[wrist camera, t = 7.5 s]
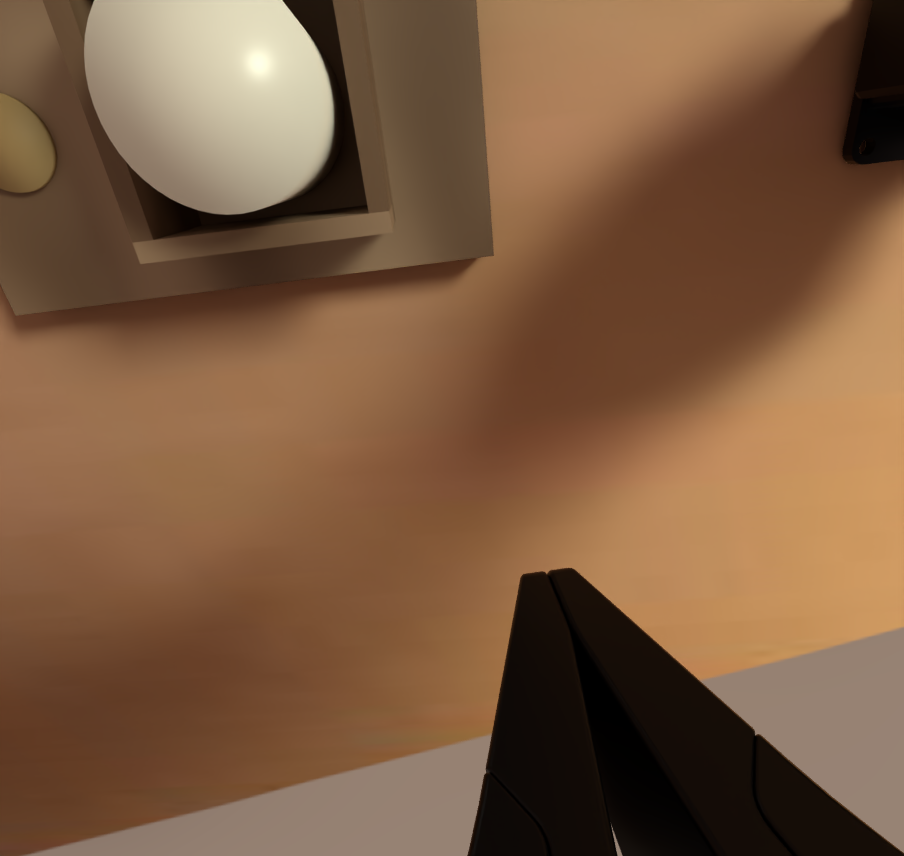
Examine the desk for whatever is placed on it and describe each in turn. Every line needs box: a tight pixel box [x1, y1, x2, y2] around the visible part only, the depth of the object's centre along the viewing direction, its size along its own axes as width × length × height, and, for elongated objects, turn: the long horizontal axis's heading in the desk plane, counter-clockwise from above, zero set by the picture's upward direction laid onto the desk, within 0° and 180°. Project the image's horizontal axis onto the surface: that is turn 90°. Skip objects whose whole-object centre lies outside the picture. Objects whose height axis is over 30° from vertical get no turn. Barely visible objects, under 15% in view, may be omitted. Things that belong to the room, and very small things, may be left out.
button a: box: [84, 0, 344, 215], centre depth 12 cm, size 4×4×4 cm
